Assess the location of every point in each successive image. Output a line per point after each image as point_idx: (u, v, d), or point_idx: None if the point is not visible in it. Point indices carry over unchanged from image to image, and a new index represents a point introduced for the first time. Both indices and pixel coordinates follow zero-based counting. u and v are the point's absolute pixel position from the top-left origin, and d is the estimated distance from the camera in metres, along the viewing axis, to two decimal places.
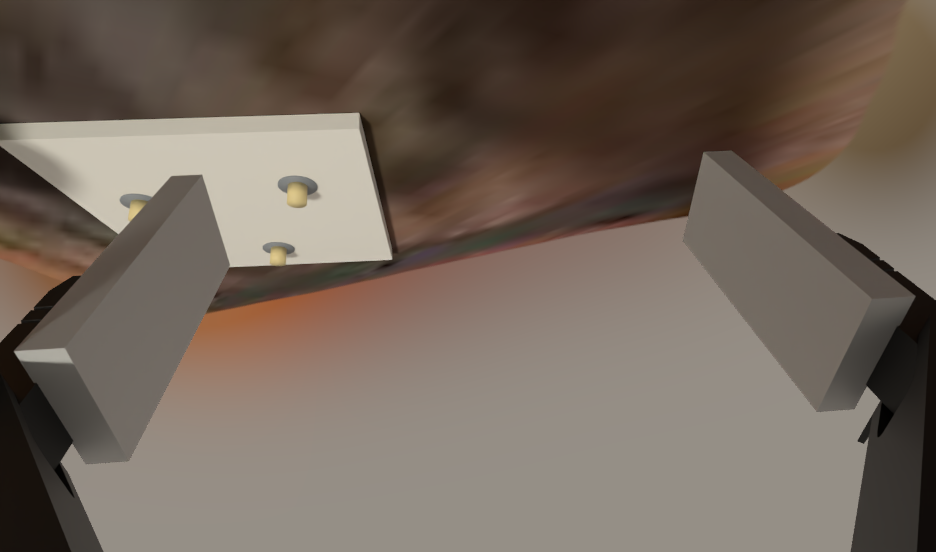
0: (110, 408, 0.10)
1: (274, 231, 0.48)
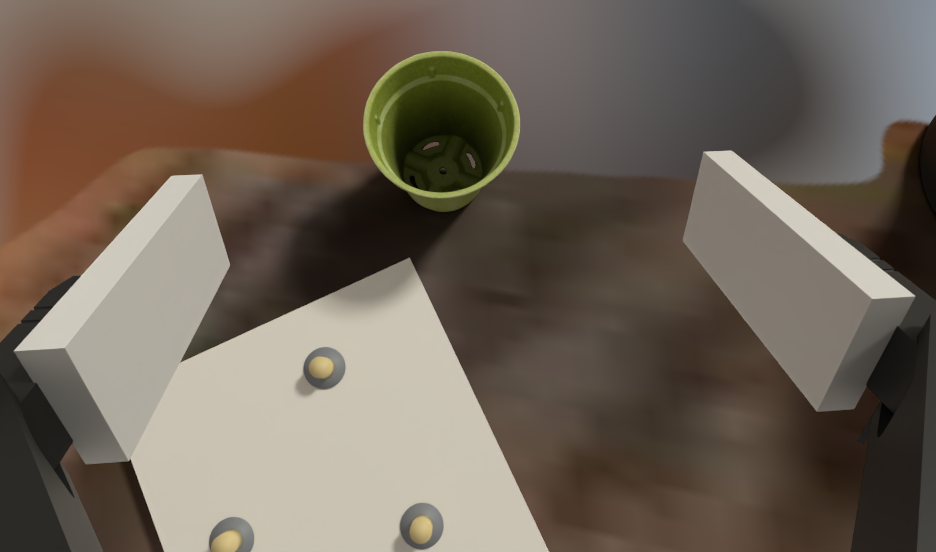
0: (110, 408, 0.10)
1: (288, 523, 0.36)
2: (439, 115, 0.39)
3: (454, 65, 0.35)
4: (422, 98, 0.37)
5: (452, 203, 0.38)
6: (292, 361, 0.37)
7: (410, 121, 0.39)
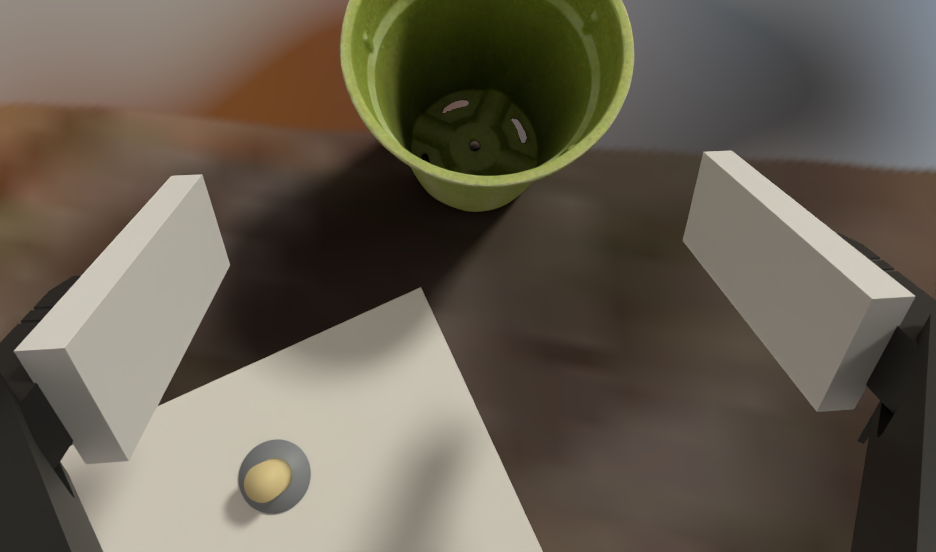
0: (110, 408, 0.10)
1: None
2: (472, 53, 0.24)
3: None
4: (447, 16, 0.21)
5: (495, 198, 0.22)
6: (220, 464, 0.22)
7: (425, 60, 0.23)
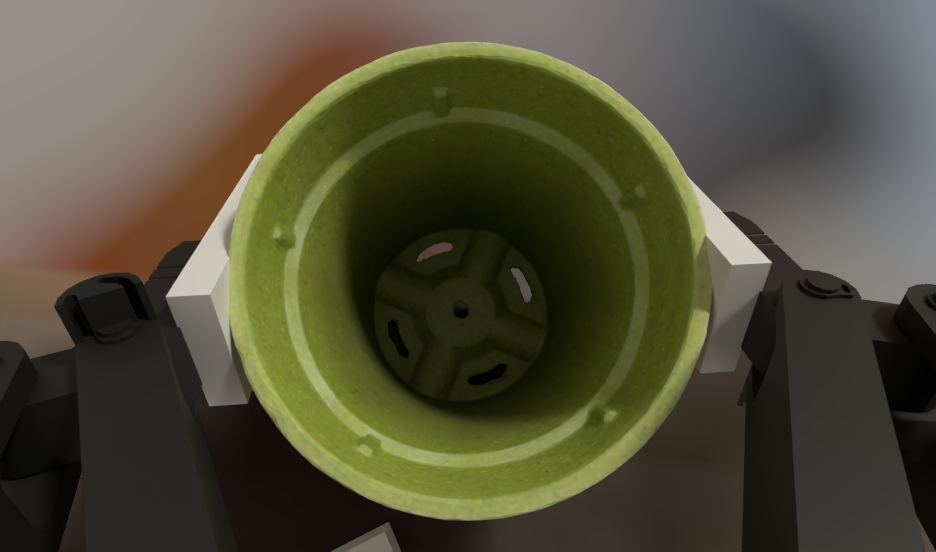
0: (236, 354, 0.11)
1: None
2: (456, 195, 0.17)
3: (505, 85, 0.12)
4: (416, 163, 0.15)
5: None
6: None
7: (388, 212, 0.16)
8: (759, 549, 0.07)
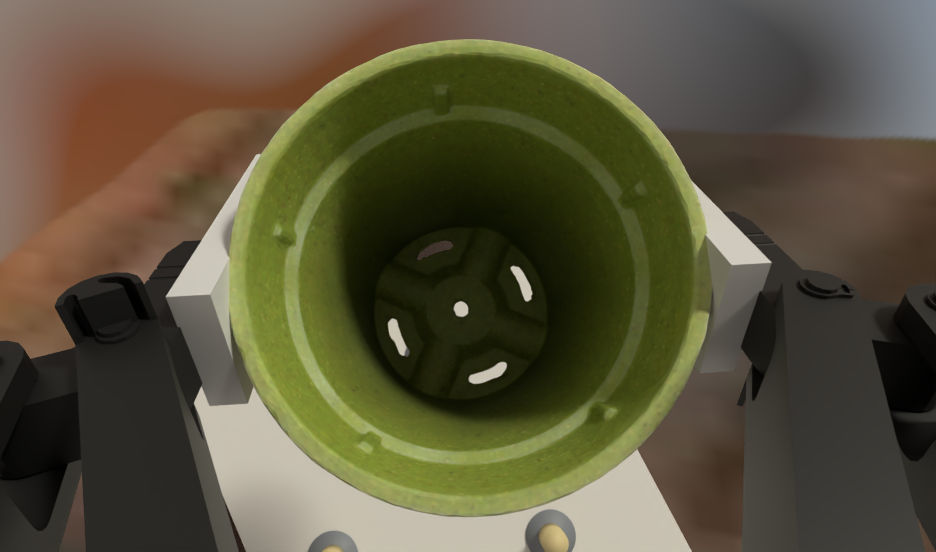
0: (236, 354, 0.11)
1: (397, 536, 0.31)
2: (456, 193, 0.17)
3: (505, 82, 0.12)
4: (416, 161, 0.15)
5: (488, 417, 0.15)
6: None
7: (388, 211, 0.16)
8: (759, 549, 0.07)
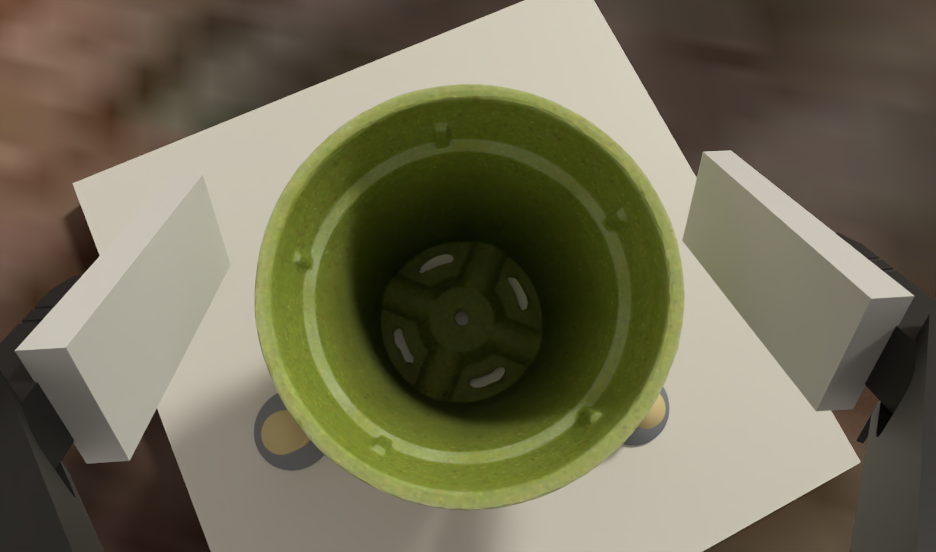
0: (111, 407, 0.10)
1: None
2: (455, 212, 0.18)
3: (499, 120, 0.14)
4: (419, 187, 0.16)
5: (488, 419, 0.17)
6: None
7: (393, 230, 0.18)
8: None
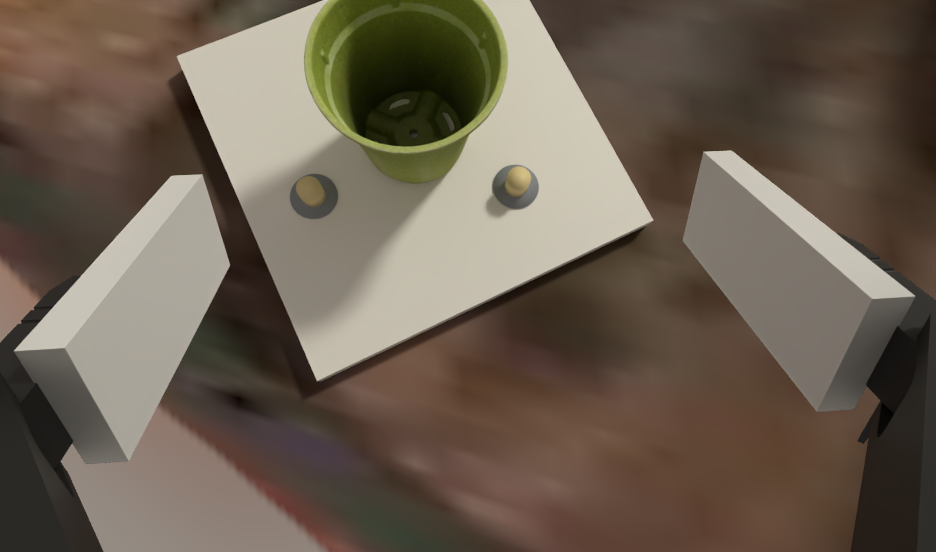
0: (110, 408, 0.10)
1: (374, 181, 0.33)
2: (408, 63, 0.32)
3: None
4: (385, 36, 0.29)
5: (424, 169, 0.30)
6: None
7: (372, 69, 0.31)
8: None
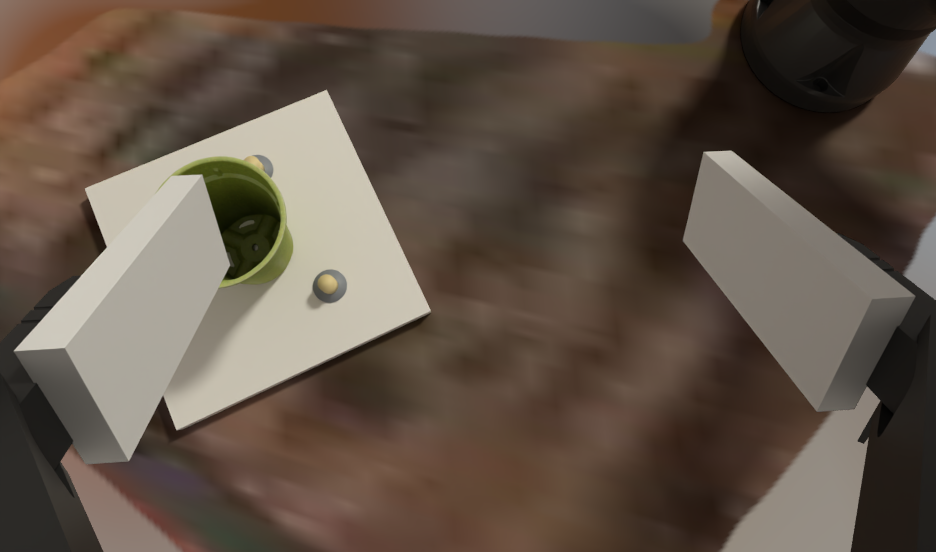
0: (110, 408, 0.10)
1: None
2: (245, 201, 0.44)
3: (234, 167, 0.39)
4: (219, 190, 0.42)
5: (250, 281, 0.43)
6: None
7: (216, 208, 0.43)
8: None
